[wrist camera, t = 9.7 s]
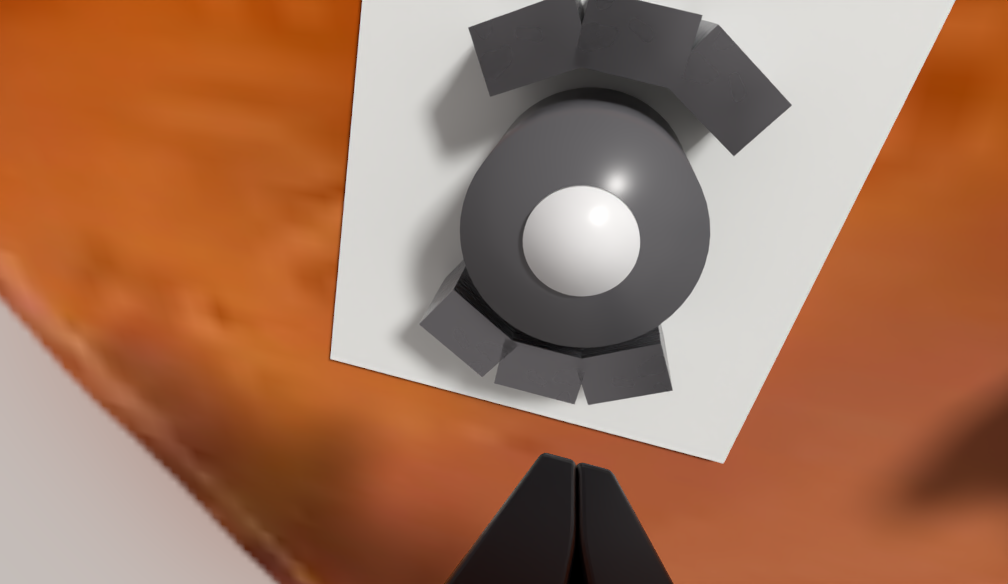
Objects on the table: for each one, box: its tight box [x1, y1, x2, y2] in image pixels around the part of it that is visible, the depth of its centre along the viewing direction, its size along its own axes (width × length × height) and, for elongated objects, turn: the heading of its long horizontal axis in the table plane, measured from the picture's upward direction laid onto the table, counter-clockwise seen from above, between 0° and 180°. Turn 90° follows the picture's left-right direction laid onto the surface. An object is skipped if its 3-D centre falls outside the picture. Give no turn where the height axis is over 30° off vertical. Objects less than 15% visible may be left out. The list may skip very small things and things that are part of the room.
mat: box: [330, 0, 955, 463], centre depth 18 cm, size 16×14×1 cm
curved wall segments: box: [419, 0, 792, 405], centre depth 16 cm, size 10×7×3 cm
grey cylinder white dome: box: [460, 87, 710, 348], centre depth 15 cm, size 6×6×4 cm
